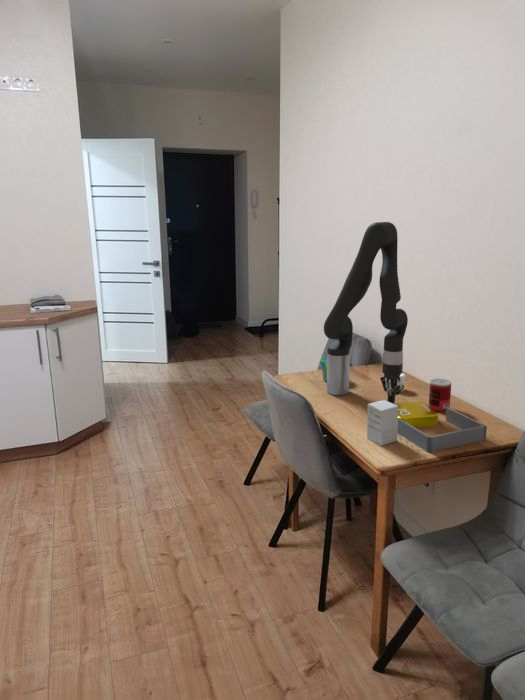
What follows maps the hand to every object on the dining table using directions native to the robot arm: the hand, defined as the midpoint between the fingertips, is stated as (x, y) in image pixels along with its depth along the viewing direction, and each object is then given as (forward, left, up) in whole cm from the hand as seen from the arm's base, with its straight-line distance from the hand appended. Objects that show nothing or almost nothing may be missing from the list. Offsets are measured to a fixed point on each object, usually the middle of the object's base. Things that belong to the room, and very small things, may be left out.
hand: (391, 403), depth 203 cm
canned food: (+9, +16, -2) cm, 18 cm away
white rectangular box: (+23, -20, -2) cm, 31 cm away
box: (+29, 0, -1) cm, 29 cm away
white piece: (-16, +14, -2) cm, 21 cm away
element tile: (+13, 0, -2) cm, 13 cm away
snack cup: (-39, -5, -2) cm, 40 cm away
